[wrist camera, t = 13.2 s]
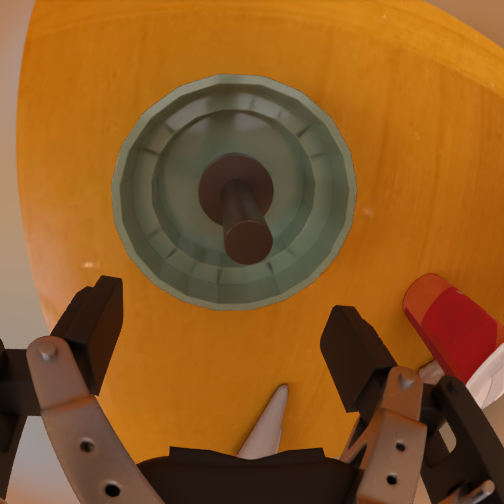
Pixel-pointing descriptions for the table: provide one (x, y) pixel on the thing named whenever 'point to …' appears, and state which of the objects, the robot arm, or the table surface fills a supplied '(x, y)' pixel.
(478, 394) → the coffee cup
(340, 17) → the table surface
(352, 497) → the robot arm
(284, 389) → the long tapered cone
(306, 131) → the bowl
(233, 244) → the brown capped cylinder
